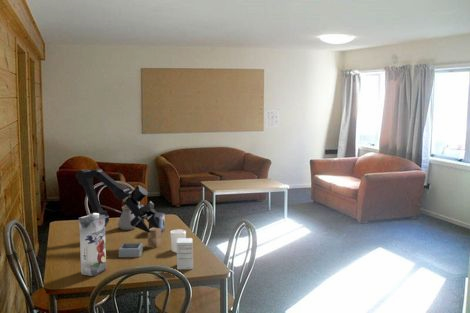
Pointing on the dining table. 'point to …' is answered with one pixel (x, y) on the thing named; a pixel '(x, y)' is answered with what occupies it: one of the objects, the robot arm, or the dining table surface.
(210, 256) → the dining table surface
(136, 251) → the open box
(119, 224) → the coffee pot
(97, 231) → the juice carton
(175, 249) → the white cup
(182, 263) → the supplement box
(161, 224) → the small box
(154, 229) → the tan upright block
